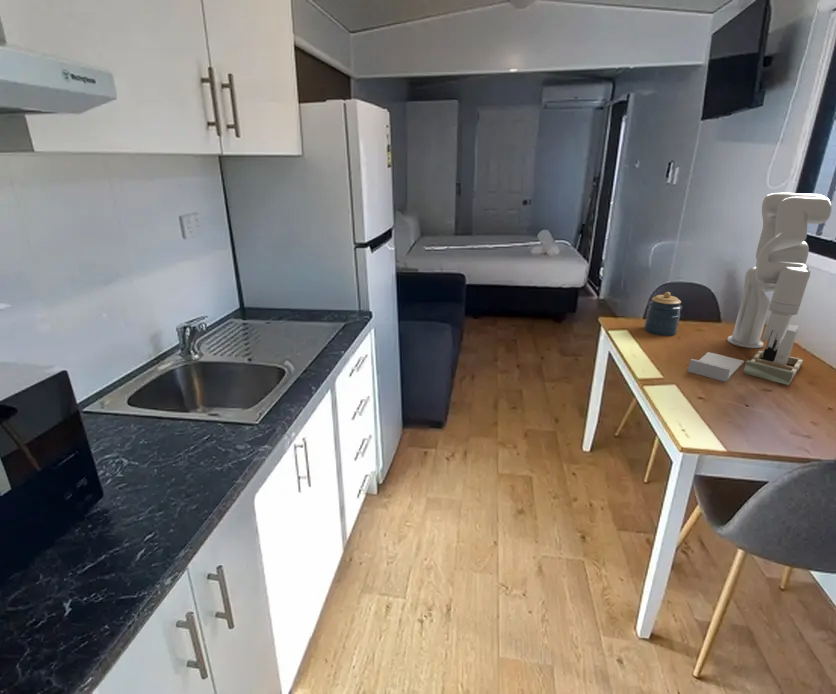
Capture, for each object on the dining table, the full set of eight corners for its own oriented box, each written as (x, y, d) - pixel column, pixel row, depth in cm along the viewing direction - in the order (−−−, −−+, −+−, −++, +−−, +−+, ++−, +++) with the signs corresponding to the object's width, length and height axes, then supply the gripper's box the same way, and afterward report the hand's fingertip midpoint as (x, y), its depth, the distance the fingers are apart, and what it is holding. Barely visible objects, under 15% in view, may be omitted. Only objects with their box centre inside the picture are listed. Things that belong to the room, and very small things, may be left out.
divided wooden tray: (758, 355, 188) (761, 344, 186) (801, 365, 179) (804, 354, 178) (743, 373, 172) (746, 361, 170) (789, 385, 163) (792, 372, 162)
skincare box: (766, 360, 184) (778, 321, 178) (787, 365, 180) (800, 325, 174) (761, 366, 178) (773, 326, 172) (783, 372, 174) (796, 330, 168)
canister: (661, 338, 206) (669, 297, 199) (637, 328, 217) (644, 289, 210) (683, 334, 211) (692, 294, 204) (658, 325, 222) (666, 287, 215)
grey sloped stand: (707, 353, 189) (710, 343, 187) (743, 362, 181) (746, 351, 179) (687, 371, 173) (690, 359, 171) (725, 381, 165) (729, 369, 164)
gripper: (775, 299, 162) (760, 350, 169) (764, 309, 152) (749, 363, 159) (803, 304, 157) (786, 356, 164) (794, 315, 147) (776, 370, 154)
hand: (768, 359), depth 162 cm, fingers closed
